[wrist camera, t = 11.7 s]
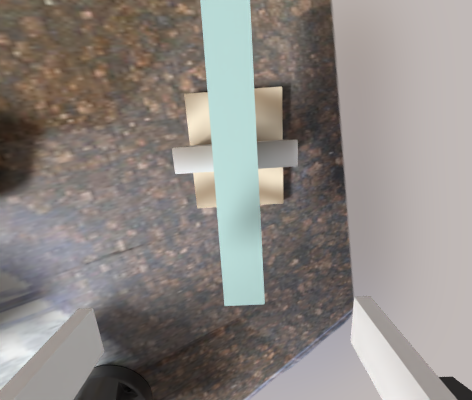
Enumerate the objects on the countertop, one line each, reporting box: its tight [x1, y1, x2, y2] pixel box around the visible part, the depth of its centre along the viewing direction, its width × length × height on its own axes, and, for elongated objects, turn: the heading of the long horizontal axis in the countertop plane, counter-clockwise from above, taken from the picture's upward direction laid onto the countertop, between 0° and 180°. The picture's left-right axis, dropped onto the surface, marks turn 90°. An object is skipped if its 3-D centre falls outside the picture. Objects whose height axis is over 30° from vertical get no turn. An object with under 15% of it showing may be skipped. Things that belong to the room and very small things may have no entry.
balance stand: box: [172, 87, 298, 208], centre depth 27 cm, size 16×13×12 cm
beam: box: [200, 0, 265, 306], centre depth 20 cm, size 26×4×4 cm, turn 4°
